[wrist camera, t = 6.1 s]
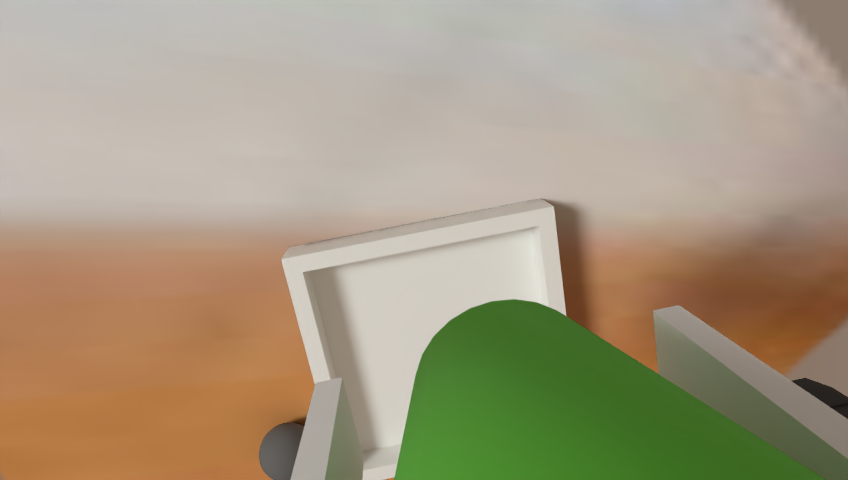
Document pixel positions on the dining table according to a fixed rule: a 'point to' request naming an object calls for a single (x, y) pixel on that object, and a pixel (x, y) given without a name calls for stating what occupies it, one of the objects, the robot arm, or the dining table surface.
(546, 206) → the tray
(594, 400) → the cup
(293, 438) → the ball
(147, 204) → the dining table surface
